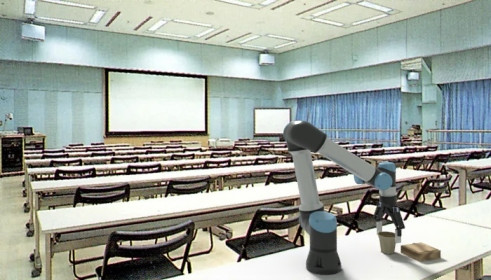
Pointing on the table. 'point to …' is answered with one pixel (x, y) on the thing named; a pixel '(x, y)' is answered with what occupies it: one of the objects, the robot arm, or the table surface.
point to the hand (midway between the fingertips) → (388, 238)
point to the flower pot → (387, 241)
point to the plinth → (420, 251)
